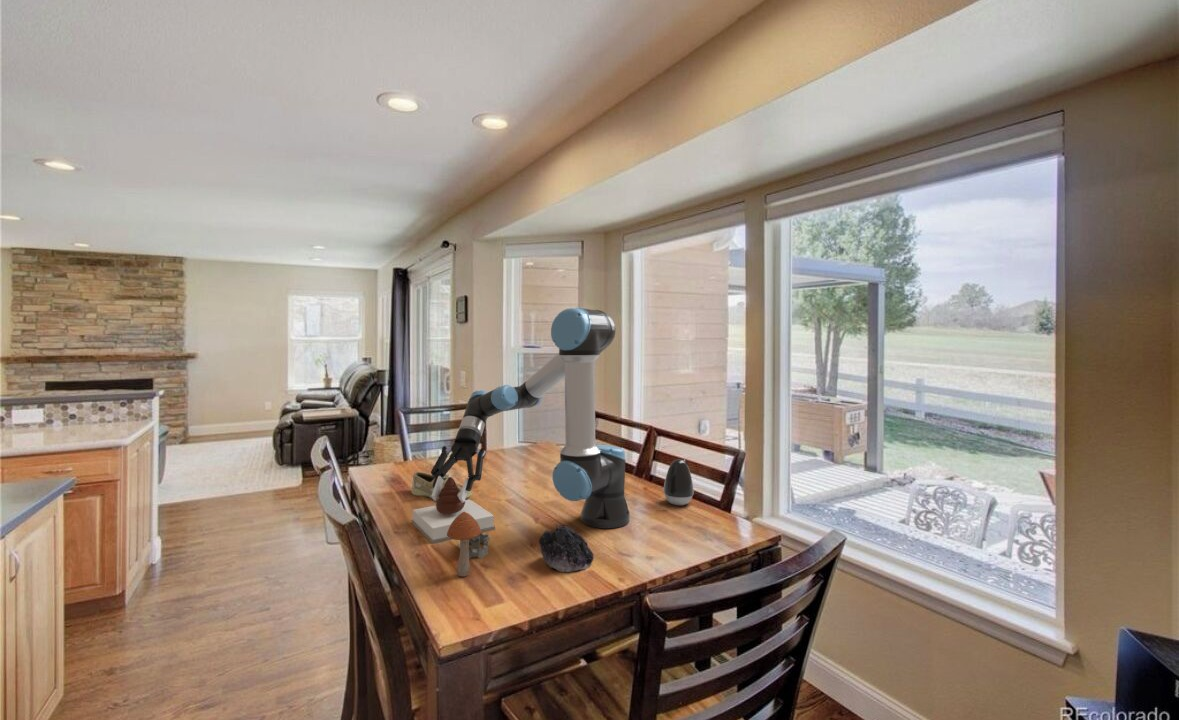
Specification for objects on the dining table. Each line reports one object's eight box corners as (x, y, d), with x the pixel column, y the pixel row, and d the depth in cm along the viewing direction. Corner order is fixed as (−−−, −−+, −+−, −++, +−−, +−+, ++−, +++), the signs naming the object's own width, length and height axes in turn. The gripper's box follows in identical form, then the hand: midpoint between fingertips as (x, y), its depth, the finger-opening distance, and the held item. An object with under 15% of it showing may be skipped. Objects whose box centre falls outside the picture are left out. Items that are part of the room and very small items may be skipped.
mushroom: (469, 563, 127) (470, 503, 126) (487, 574, 121) (488, 512, 121) (440, 573, 121) (440, 511, 121) (457, 585, 116) (457, 520, 115)
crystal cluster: (598, 556, 134) (597, 518, 135) (588, 575, 121) (586, 532, 121) (549, 555, 137) (548, 517, 137) (534, 573, 123) (532, 532, 124)
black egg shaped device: (697, 501, 178) (698, 458, 177) (686, 510, 169) (687, 464, 168) (670, 496, 183) (671, 454, 182) (658, 504, 174) (659, 460, 174)
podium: (495, 529, 150) (495, 515, 149) (432, 543, 139) (432, 528, 139) (470, 511, 165) (470, 498, 164) (411, 522, 154) (411, 509, 154)
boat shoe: (476, 498, 178) (476, 476, 178) (459, 506, 170) (459, 482, 170) (423, 488, 189) (423, 466, 189) (404, 494, 181) (404, 472, 181)
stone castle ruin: (487, 559, 130) (487, 544, 130) (457, 560, 129) (457, 544, 129) (490, 542, 141) (490, 528, 140) (462, 543, 140) (463, 528, 139)
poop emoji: (439, 504, 156) (438, 474, 156) (468, 502, 157) (467, 472, 157) (433, 515, 146) (432, 483, 146) (464, 513, 147) (462, 481, 147)
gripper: (503, 441, 164) (485, 507, 149) (442, 438, 168) (418, 503, 152) (498, 428, 159) (478, 495, 144) (435, 425, 162) (409, 490, 147)
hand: (447, 499), depth 148 cm, fingers closed on poop emoji, 8 cm apart
